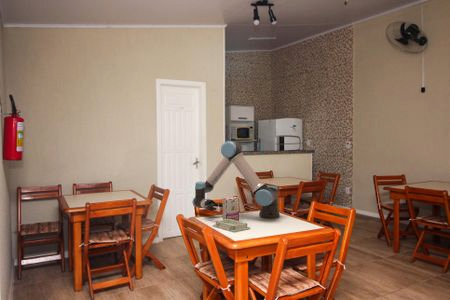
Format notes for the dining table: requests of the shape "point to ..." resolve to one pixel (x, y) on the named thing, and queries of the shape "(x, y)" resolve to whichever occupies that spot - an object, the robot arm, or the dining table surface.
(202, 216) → the dining table surface
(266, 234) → the dining table surface
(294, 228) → the dining table surface
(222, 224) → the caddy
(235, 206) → the candy bar box
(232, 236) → the dining table surface
